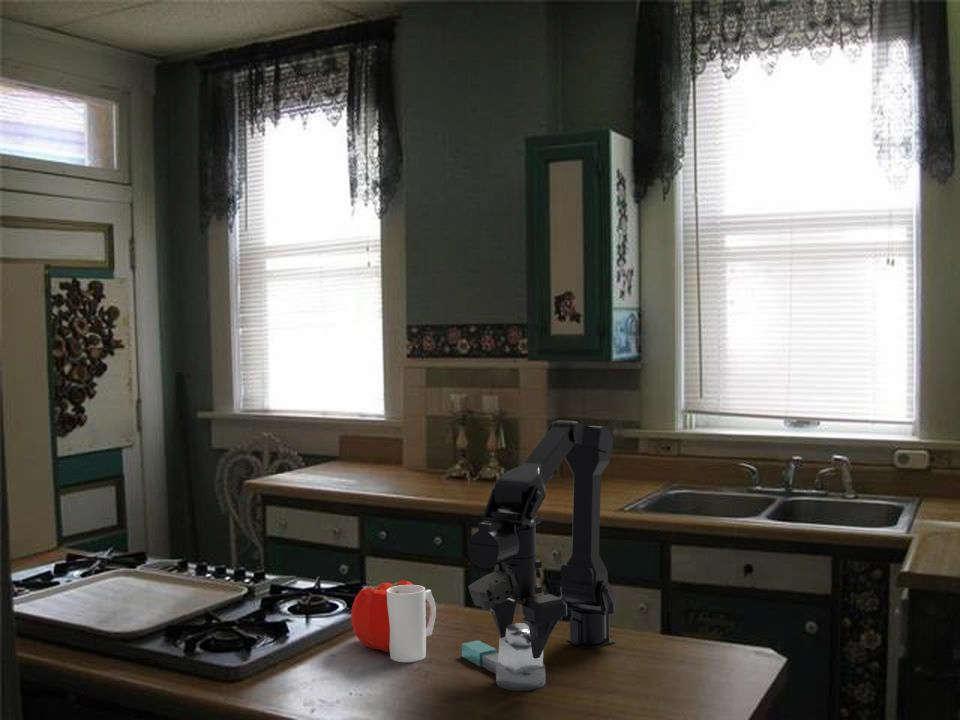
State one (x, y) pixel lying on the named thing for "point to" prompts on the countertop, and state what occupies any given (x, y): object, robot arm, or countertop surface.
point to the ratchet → (502, 668)
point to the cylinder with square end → (518, 650)
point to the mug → (409, 622)
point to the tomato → (373, 616)
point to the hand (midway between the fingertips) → (520, 650)
